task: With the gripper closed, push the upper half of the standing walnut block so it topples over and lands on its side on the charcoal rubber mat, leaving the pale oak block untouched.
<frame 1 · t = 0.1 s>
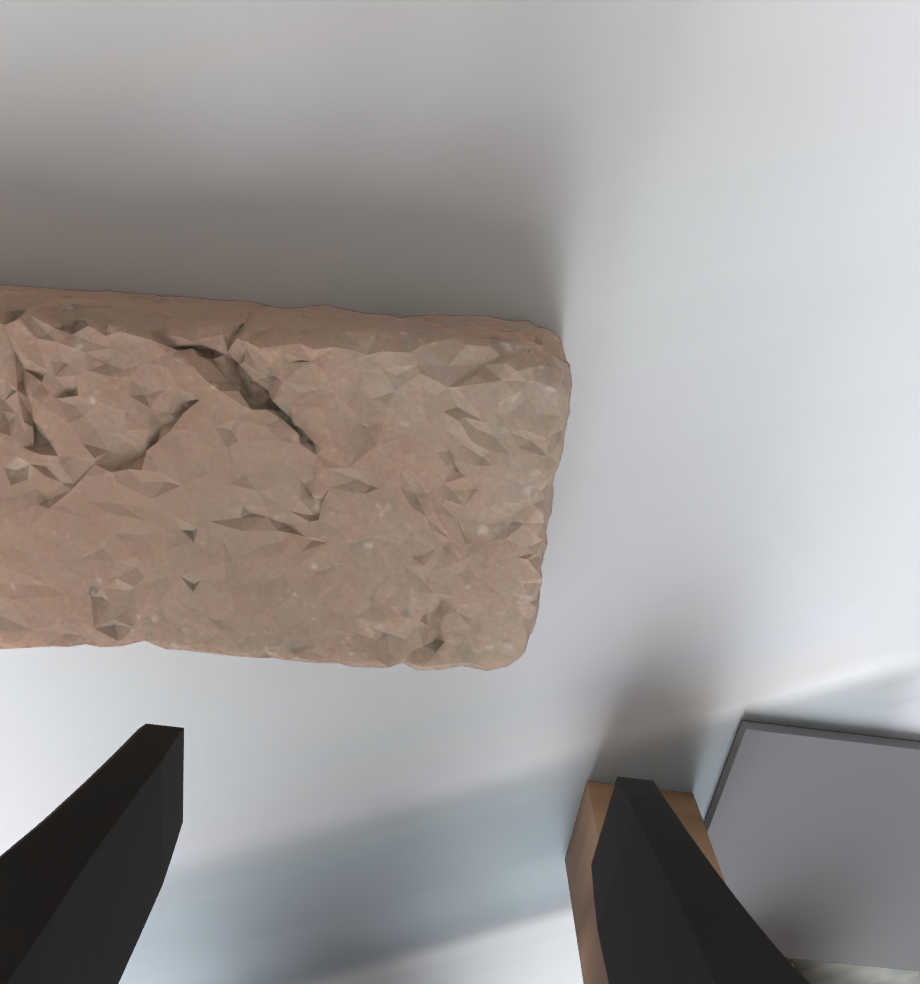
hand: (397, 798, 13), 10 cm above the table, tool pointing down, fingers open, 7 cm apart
brick: (246, 437, 22), on the table
walnut block: (627, 827, 27), on the table
mat: (839, 851, 27), on the table
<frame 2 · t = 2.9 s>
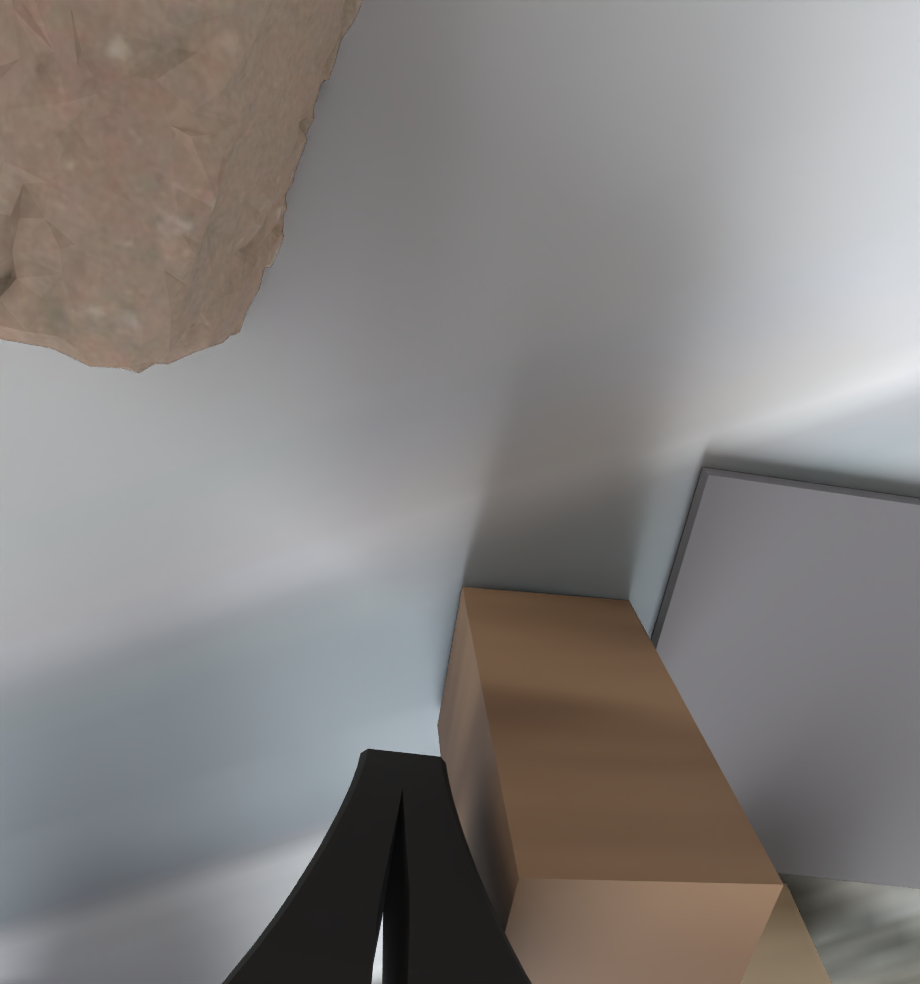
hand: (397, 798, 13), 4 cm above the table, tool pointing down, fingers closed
walnut block: (530, 664, 17), on the table, tilted 5°, touching gripper
oak block: (714, 937, 21), on the table
mat: (856, 701, 18), on the table
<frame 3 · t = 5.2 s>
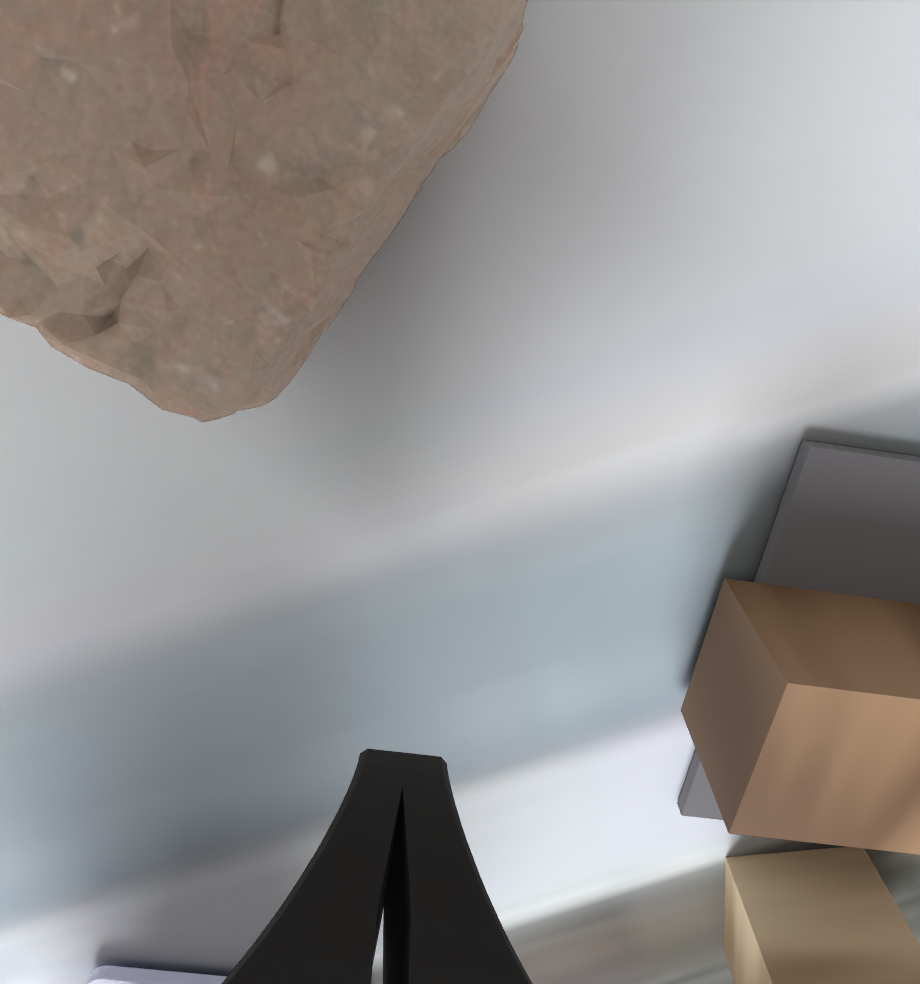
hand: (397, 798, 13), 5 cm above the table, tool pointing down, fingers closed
walnut block: (726, 698, 16), point 2 cm above the table, tilted 90°, touching mat
oak block: (790, 898, 22), on the table
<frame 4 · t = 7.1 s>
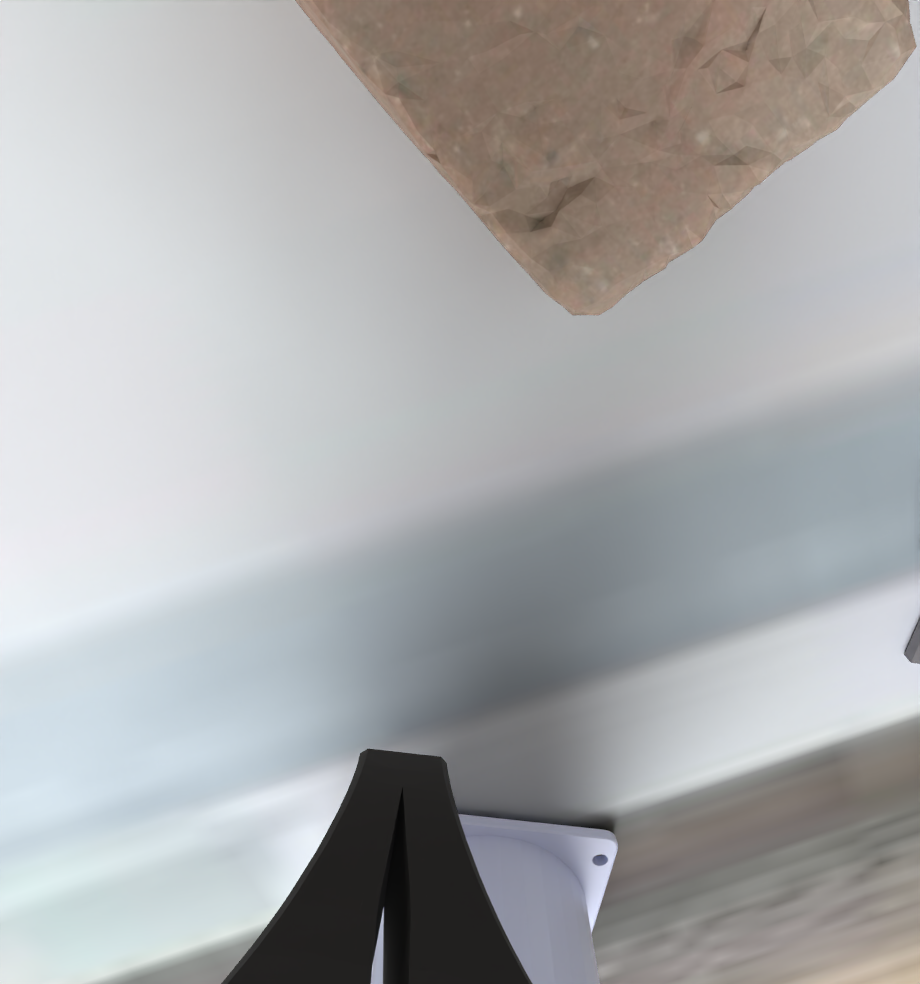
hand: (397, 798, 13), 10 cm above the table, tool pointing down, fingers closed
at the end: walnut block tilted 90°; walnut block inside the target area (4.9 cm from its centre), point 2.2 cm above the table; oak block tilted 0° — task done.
